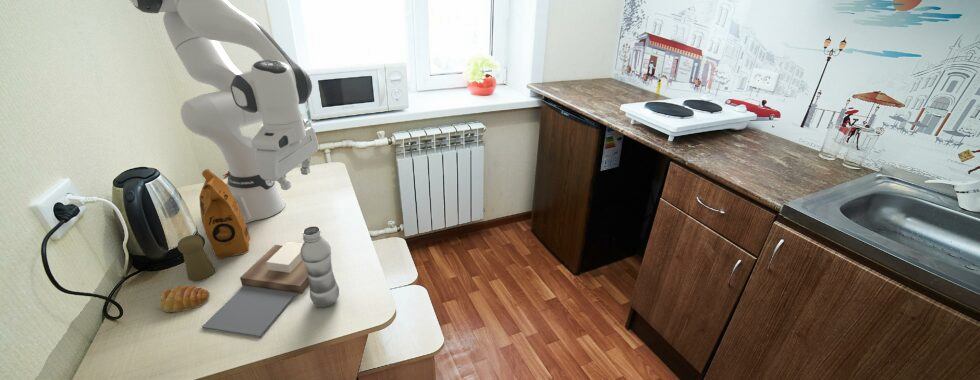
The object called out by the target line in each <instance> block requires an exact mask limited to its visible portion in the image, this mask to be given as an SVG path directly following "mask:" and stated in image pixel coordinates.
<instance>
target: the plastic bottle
mask: <svg viewBox="0 0 980 380" xmlns="http://www.w3.org/2000/svg"><path fill="white" fill-rule="evenodd" d="M301 233H302V240H303V241H304V242H302V243H303V245H302V247H301V251H300V255H301V258H302V260H303V263H304V265H305V267H306V270H307V273H308V277H309V284H310V285H309V298H310V300H311V302H312V304H313V305H315V306H317V307H319V308H326V307H327V308H328V307H330V306H331V305H334V303H336V302H337V300H338V299H339V295H340V288H339V285H338V282H337V281H336V278H335V274H334V272H333V267H332V249H331V248H332V247H331V245H330V243H329V242H328V241H327V240H326V239H325V238H323V235H322V234H323V233H322V232H321V229H320V227H319V226H316V225H315V226H314V225H313V226H308V227H306V228H304V229H303V230H302V232H301Z"/></svg>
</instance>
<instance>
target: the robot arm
mask: <svg viewBox="0 0 980 380" xmlns="http://www.w3.org/2000/svg"><path fill="white" fill-rule="evenodd" d="M129 2H131V4H132V5H133V7H135V9H137V10H139V11H140V12H142V13H146V14H159V13H163V21H162V22H163V24H164V28H165V30H166V33H167V35H168V38H169V41H170V43H171V44H172V46H173V48H174V51H175V52H176V54H177V56H178V58H179V59H180V61H181V63H182V65H183V66H184V68H185V69H186V72H187V73H188V75H189V76H190V77H191V78H192V79H194V80H195V81H196V82H199V83H202V84H205V85H208V86H209V85H210V86H212V87H214V88H216V89H217V90H218V91H214V92H209V93H204V94H200V95H197V96H195V97H193V98H190V99H188V100H186V101H184V102H183V103H182V105H181V108H180V116H181V117H180V119H181V120H182V123H183V124H184V126H185V127H186V128H187V129H188V130H189V131H190V132H192V133H194V134H196V135H198V136H202V137H203V138H205V139H208V140H210V141H211V142H213V143H214V144H215V145H216V146H217V147H218V148H219V150H220V151H221V153H222V155H223V158H224V160H225V163H226V165H227V168H228V171H227V172H226V173H225V174H223V175H222V176H223V180H224V179H227V182H225V184H226V185H227V186H228V187H229V189H230V191H231V193H232V195H233V197H234V198H235V200H236V202H237V204H238V206H239V208H240V210H241V212H242V215H243V217H244V220H245V223H246V224H248V223H251V222H253V221H259V220H263V219H267V218H270V217H272V216H275V215H277V214H279V213H280V212H281V211H282V210H283V209H285V207H286V202H285V200H284V199H283V197H282V195H281V193H280V191H279V189H278V187H277V184H276V182H277V183H279V184H280V188H281V190H283V191H288V190H289V189H291V187H292V185H291V181H290V180H287V179H286V178H287V174H288V173H289V172H291V171H292V170H293V169H295V168H296V167H298V166H299V165H301V167H300V169H299V170H300V173H301V175H303V176H304V175H305V176H307V175H308V174H310V173H311V169H310V165H311V160H312V158H311V157H312V156H313V155H314V154H316V153H318V151H319V149H320V148H319V147H320V146H319V142H318V138H317V134H316V132H315V129H314V128H313V127H312V122H310V121H309V119H304V117H303V114H302V112H301V110H300V107H299V106H300V105H302V104H305V103H306V102H307V101H308V100H309V98H310V95H311V94H312V90H313V83H312V80H311V77H310V75H308V73H307V72H306V71H305V70H304V69H303V68H302V67H301V66H300V65H298V64H297V63H296V62H295V61H294V60H292V58H291V57H290V56H289V55H288V54H287V53H286V52H285V51H284V50H283V48H282V47H281V45H279V44H278V43H277V41H276V40H275V39H274V38H273V37H272V36H271V35H270V34H269V32H267V30H266V29H265V28H264V27H263V26H262V25H261V24H260V23H259V22H258V21H257V20H256V19H254V18H253V17H251V16H249V15H246V14H245V13H244V12H242V11H240V10H239V9H238V8H236V7H235V6H234V5H232V3H231V2H229V0H129ZM221 43H228V44H235V45H240V46H243V47H246V48H249V49H251V50H253V51H254V52H255V53H257V54H258V56H260V57H261V59H262V60H258V61H256V62H254V63H253V64H252V65H251V69H250V70H247V71H245V72H242V71H241V70H240V69H239V68H238V67H237V66H236V65H235V64H234V63H233V61H232V60H231V58H230V57H229V55H228V54H227V52H226V51H225V48H224V47H223V46H222V44H221ZM258 123H262V126H261V127H260V129H259V131H258V132H257V133H256V135H255V136H254V137H251V136H247V135H243V134H242V131H241V129H242V128H244V127H248V126H251V125H254V124H258Z"/></svg>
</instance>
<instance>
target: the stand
mask: <svg viewBox="0 0 980 380" xmlns="http://www.w3.org/2000/svg"><path fill="white" fill-rule="evenodd" d="M282 246H283V245H280V244H274V245H273V246H272V247H271V248H269V250H267V252H265V254H263V255H262V257H260V258H259V259H258V260H257V261H256V262H255V263H254V264H253V265H252V266H251V267H250V268H249V269H248V270H246V271H245V272H244V273H243V274H242V275H241V276H240V277H239V279H240V282H241V285H242V287H243V286H251V287H258V288H265V289H272V290H280V291H287V292H294V293H297V294H300V295H302V294H304V292H305V291H306V290H307V288H308V287H310V284H309V277H308V273H307V270H306V267H305V265H304V263H303V260H302V261H301V262H300V263H299V264H298V265H297V266H296V267H295V269H294V270H293V271H292V272H291V273H288V272H281V271H273V270H269V269H268V266H267V261H268V260H269V259H270V258H271V257H272V256H273V255H274V254H275V253H276V252H277V251H278V250H279V249H280V248H281V247H282Z"/></svg>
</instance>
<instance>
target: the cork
mask: <svg viewBox="0 0 980 380" xmlns="http://www.w3.org/2000/svg"><path fill="white" fill-rule="evenodd" d="M203 247H204V240H203V238H202V237H200V235H197V234H196V235H194V234H193V235H191V234H190V235H187V236H185V237H183V238H180V239H179V240H178V242H177V250H178V251H179V252H180V253H181V254H182V255H183V260H184V264H185V270H186V274H187V280H189V281H190V282H193V283H194V282H195V283H196V282H203V281H206V280H208V279H210V278H212V276H214V275H215V274H216V272H217V270H216V267H215V265H214V264H213V263H212V260H211V259H210V257H209V255H208V254H207V252H206V251H205V249H204V248H203Z"/></svg>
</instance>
